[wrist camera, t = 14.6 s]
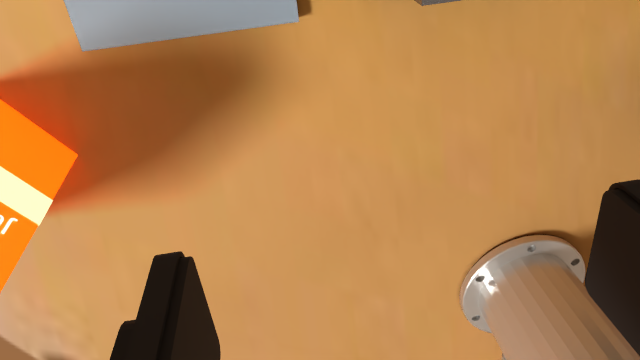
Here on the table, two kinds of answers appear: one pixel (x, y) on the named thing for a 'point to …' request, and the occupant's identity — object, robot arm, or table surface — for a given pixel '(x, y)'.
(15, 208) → the orange juice
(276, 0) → the board
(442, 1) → the grey piece
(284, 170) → the table surface
